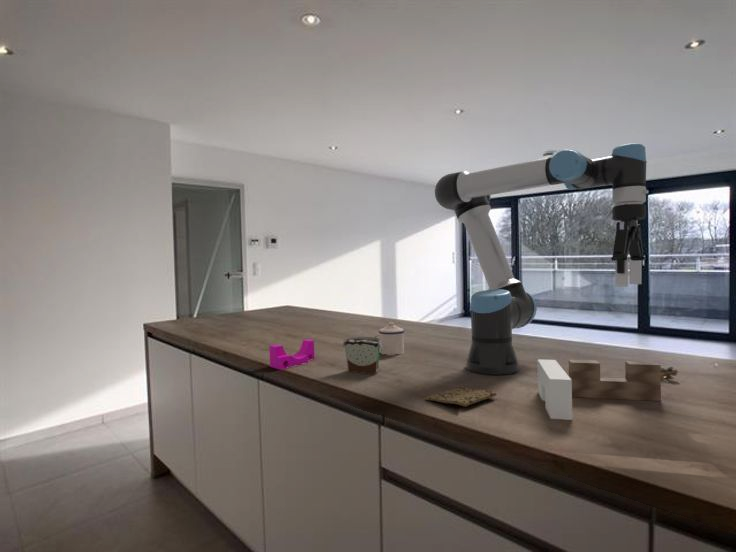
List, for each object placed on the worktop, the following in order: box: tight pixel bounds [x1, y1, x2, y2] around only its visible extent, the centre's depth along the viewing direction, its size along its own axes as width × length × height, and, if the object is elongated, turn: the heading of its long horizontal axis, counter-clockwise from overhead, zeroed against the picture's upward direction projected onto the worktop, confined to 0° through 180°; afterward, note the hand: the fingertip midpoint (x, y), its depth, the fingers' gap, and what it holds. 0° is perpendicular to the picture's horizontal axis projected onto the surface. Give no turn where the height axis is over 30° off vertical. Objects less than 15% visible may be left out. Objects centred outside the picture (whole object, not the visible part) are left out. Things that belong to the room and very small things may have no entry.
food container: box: [342, 336, 382, 375], centre depth 126 cm, size 12×6×10 cm, turn 65°
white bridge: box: [537, 359, 573, 421], centre depth 91 cm, size 18×4×8 cm, turn 165°
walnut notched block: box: [568, 359, 662, 402], centre depth 95 cm, size 18×3×8 cm, turn 75°
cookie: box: [425, 387, 498, 407], centre depth 97 cm, size 12×12×2 cm
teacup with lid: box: [373, 321, 405, 356], centre depth 149 cm, size 12×9×12 cm
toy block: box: [268, 338, 315, 371], centre depth 136 cm, size 15×6×8 cm, turn 134°
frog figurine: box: [660, 366, 679, 383], centre depth 110 cm, size 12×12×4 cm
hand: (628, 285), depth 110 cm, fingers open, 13 cm apart
